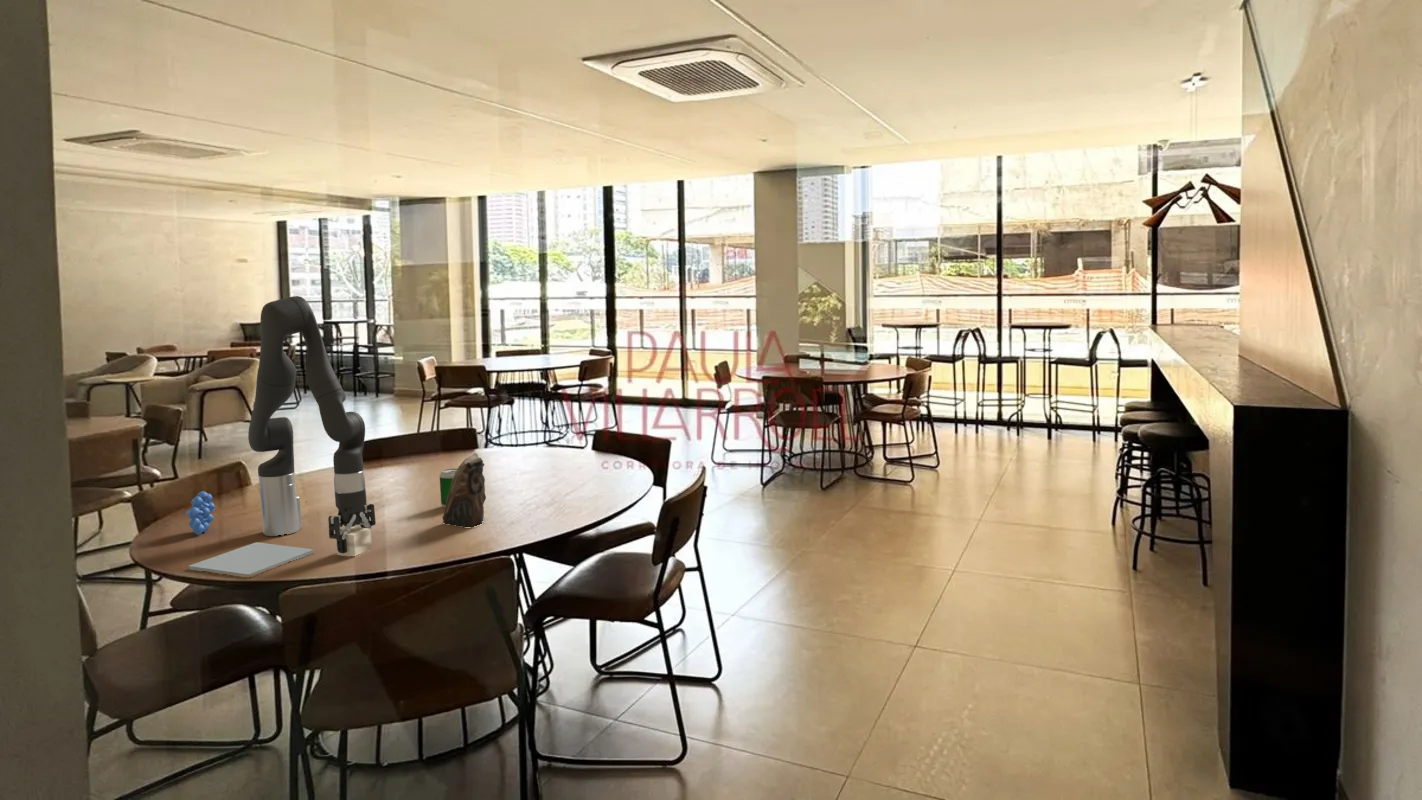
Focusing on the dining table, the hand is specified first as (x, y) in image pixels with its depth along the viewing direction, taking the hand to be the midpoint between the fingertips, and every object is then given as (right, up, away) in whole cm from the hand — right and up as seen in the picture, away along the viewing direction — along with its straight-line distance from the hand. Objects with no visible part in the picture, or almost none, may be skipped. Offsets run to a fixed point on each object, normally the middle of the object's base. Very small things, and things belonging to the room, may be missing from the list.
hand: (354, 547), depth 219 cm
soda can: (+13, +5, +44) cm, 46 cm away
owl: (+21, +3, +27) cm, 35 cm away
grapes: (-53, +1, +19) cm, 56 cm away
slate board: (-24, -2, -6) cm, 24 cm away
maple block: (0, -1, 0) cm, 1 cm away
